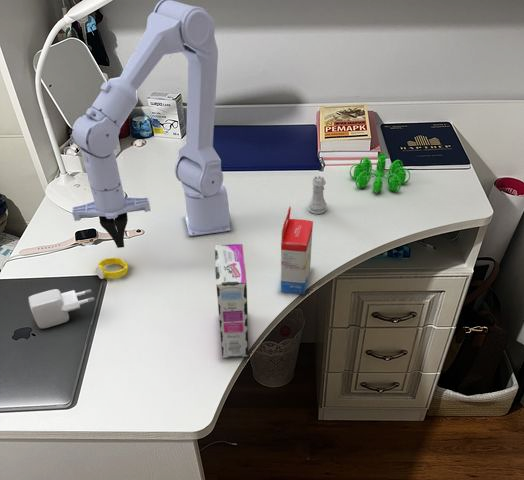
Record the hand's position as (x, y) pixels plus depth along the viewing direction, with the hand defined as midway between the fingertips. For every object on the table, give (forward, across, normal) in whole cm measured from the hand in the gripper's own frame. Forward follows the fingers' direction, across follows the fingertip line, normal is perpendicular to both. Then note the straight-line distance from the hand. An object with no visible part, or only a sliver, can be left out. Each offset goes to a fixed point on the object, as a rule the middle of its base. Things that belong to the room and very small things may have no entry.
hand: (120, 244), depth 110 cm
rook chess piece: (+5, +46, +11) cm, 47 cm away
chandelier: (+5, +64, +20) cm, 68 cm away
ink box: (+5, +34, -14) cm, 37 cm away
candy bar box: (+5, +18, -27) cm, 33 cm away
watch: (+4, 0, 0) cm, 4 cm away
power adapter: (+5, -12, -14) cm, 19 cm away
